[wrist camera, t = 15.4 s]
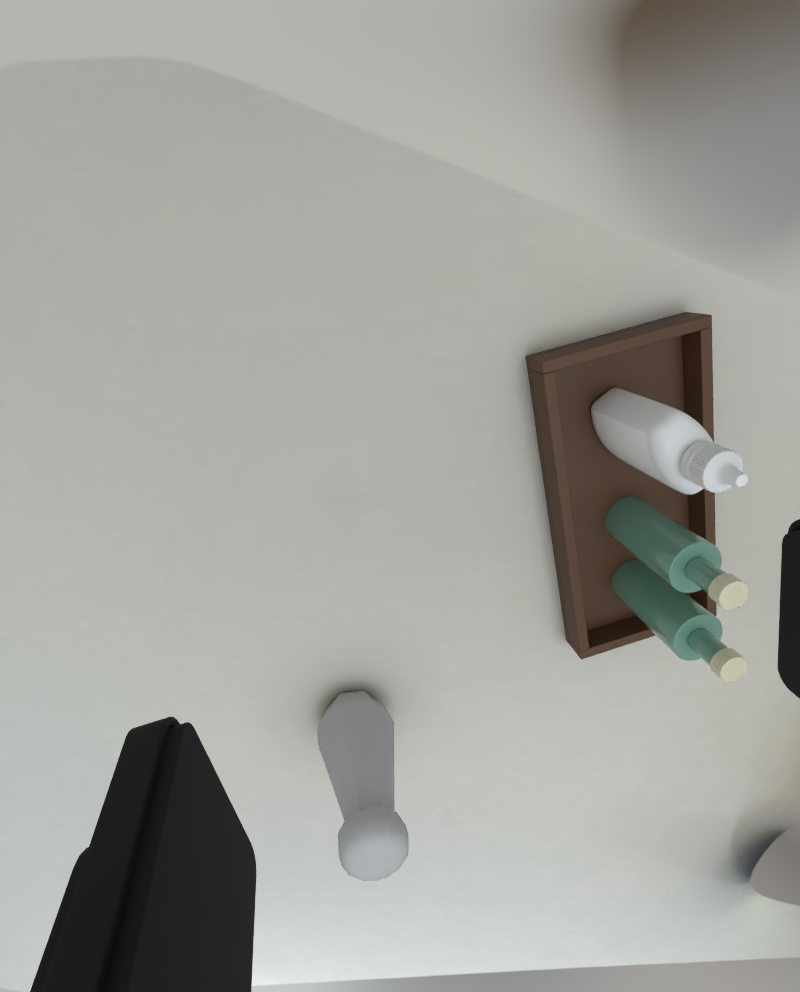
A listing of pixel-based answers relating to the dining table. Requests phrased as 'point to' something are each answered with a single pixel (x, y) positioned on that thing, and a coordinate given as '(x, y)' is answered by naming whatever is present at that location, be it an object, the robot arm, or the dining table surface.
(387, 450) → the dining table surface
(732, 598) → the green bottle
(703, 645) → the green bottle
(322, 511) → the dining table surface
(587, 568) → the tray
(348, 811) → the salt shaker
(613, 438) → the white plastic bottle
